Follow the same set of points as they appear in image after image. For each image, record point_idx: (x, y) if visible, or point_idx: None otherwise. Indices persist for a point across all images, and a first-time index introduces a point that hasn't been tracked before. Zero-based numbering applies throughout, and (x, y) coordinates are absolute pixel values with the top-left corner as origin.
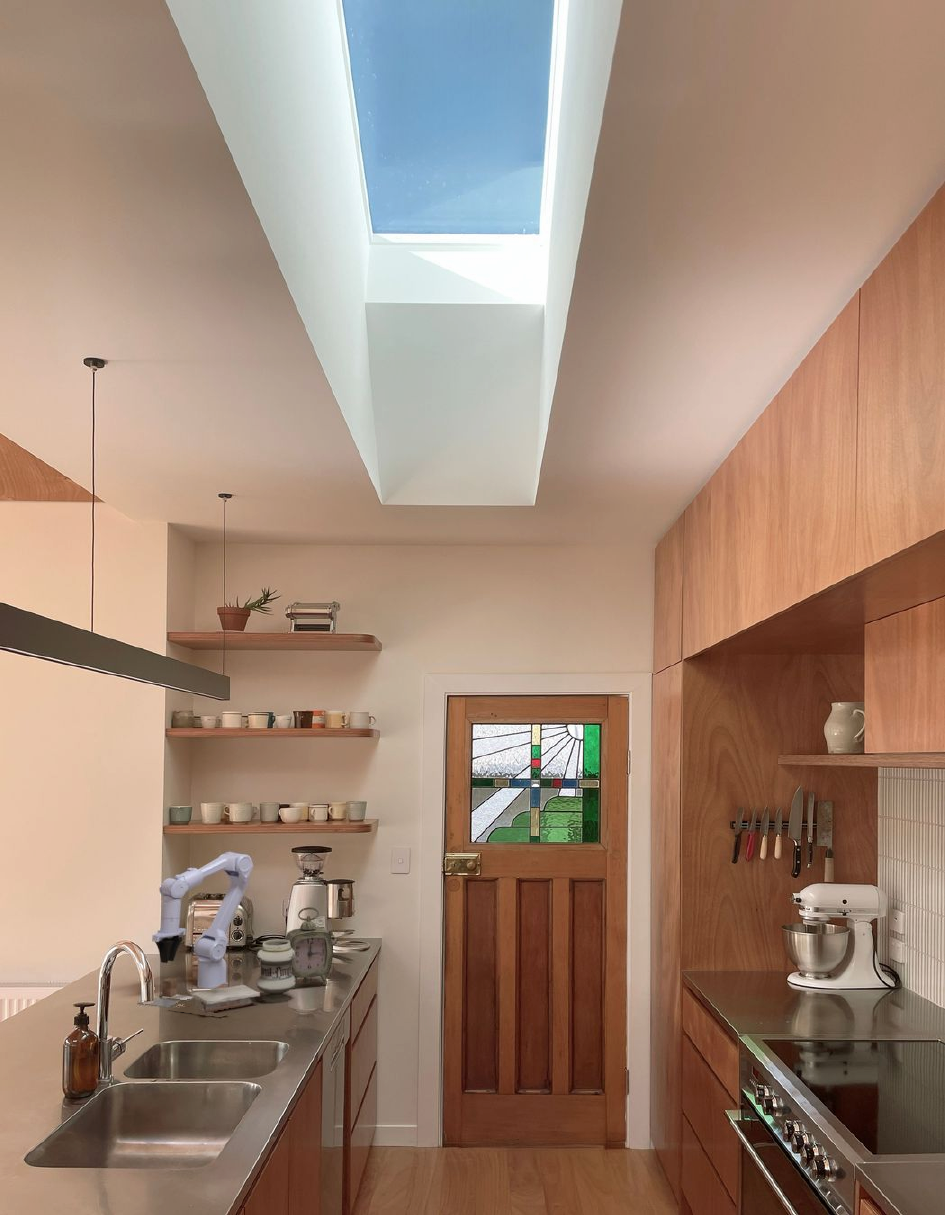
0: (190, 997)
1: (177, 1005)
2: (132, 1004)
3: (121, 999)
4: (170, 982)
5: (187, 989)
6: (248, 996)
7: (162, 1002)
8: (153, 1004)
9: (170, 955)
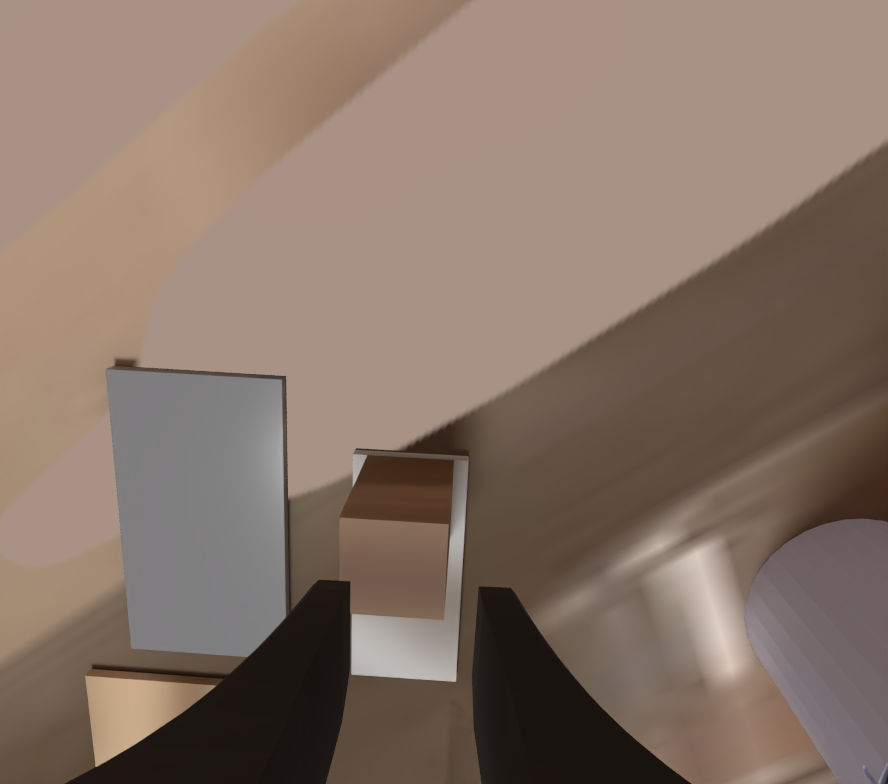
0: (423, 675)
1: (203, 690)
2: (96, 324)
3: (171, 120)
4: None
5: (673, 509)
6: None
7: (207, 557)
8: (129, 523)
9: (481, 703)
